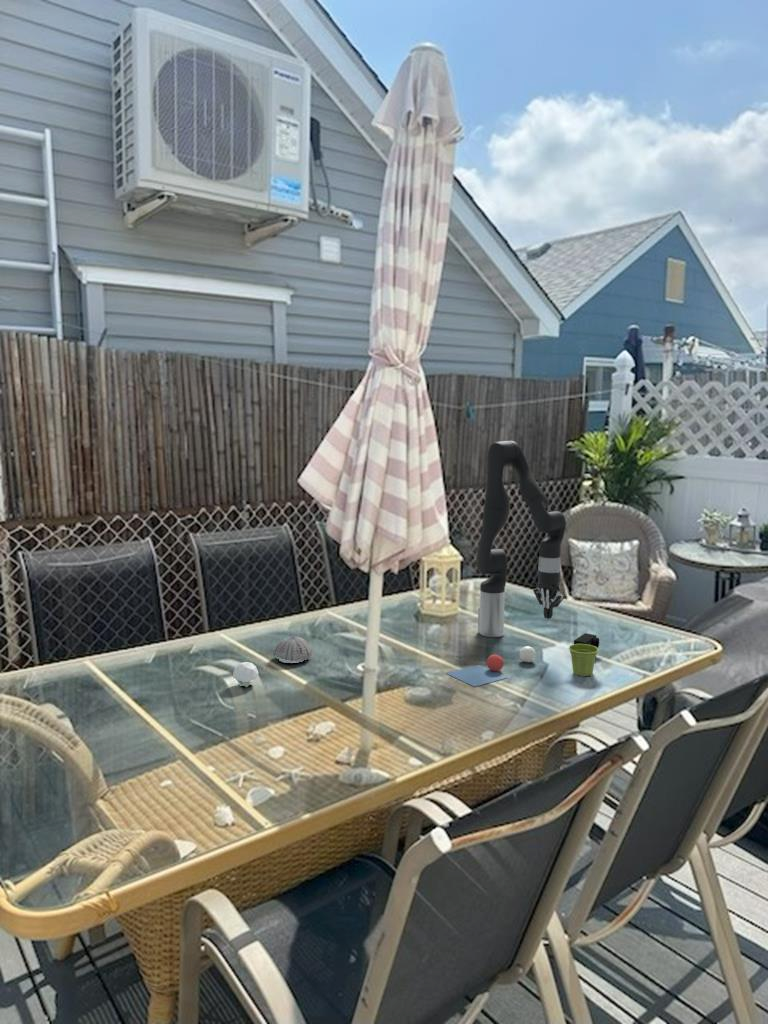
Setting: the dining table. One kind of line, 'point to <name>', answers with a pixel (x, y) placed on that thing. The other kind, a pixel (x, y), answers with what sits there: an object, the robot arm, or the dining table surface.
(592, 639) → the digital camera
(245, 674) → the geometric ball
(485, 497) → the robot arm
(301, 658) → the sea urchin shell
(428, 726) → the dining table surface
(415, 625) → the dining table surface
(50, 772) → the dining table surface
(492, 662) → the red ball
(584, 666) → the plant pot
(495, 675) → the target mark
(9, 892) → the dining table surface
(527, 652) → the cue ball
